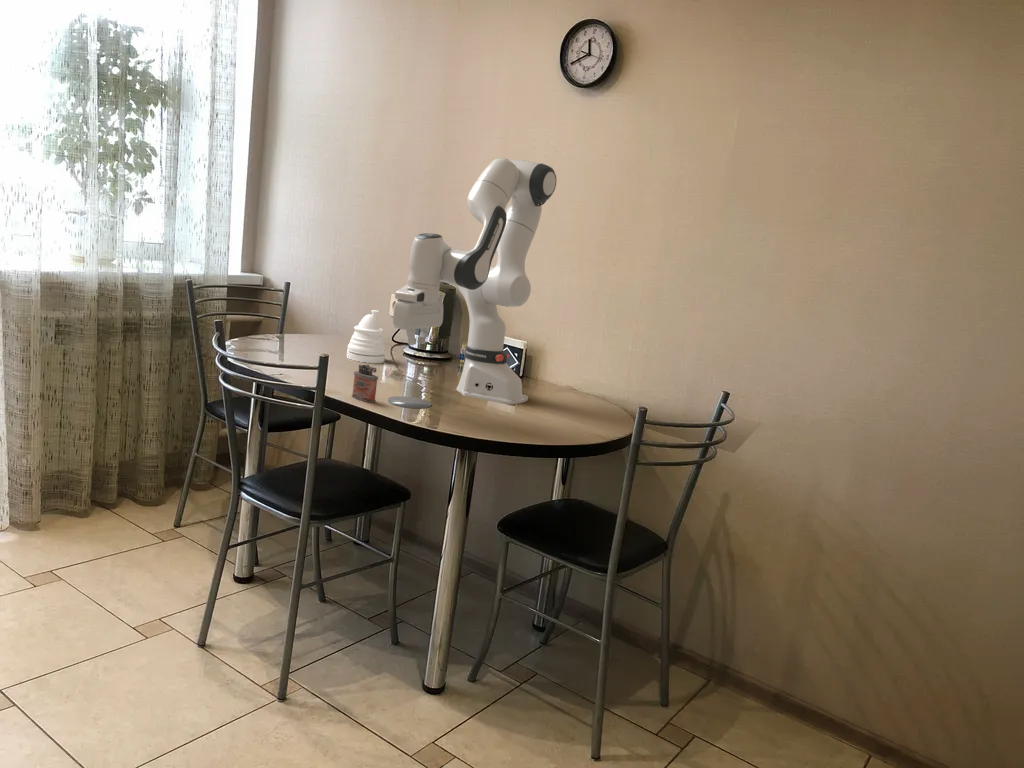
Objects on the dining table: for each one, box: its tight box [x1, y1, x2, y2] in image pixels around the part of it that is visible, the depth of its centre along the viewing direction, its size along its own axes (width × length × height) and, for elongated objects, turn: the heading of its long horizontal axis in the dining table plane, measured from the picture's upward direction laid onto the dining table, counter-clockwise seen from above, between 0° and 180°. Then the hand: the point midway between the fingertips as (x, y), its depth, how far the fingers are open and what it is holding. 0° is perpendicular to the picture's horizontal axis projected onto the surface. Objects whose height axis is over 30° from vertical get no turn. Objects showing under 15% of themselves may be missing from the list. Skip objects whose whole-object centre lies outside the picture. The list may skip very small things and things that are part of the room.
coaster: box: [387, 395, 432, 410], centre depth 221 cm, size 12×12×1 cm
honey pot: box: [346, 309, 386, 364], centre depth 272 cm, size 13×13×18 cm
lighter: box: [351, 363, 379, 404], centre depth 217 cm, size 8×3×10 cm, turn 54°
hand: (416, 343), depth 218 cm, fingers open, 3 cm apart
